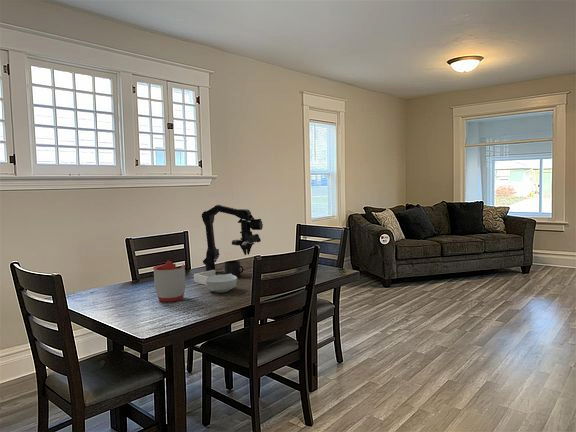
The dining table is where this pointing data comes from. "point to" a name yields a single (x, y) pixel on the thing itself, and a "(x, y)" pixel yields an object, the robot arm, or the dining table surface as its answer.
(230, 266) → the mug
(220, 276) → the cereal bowl
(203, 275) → the tray
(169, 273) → the citrus juicer
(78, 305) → the dining table surface
